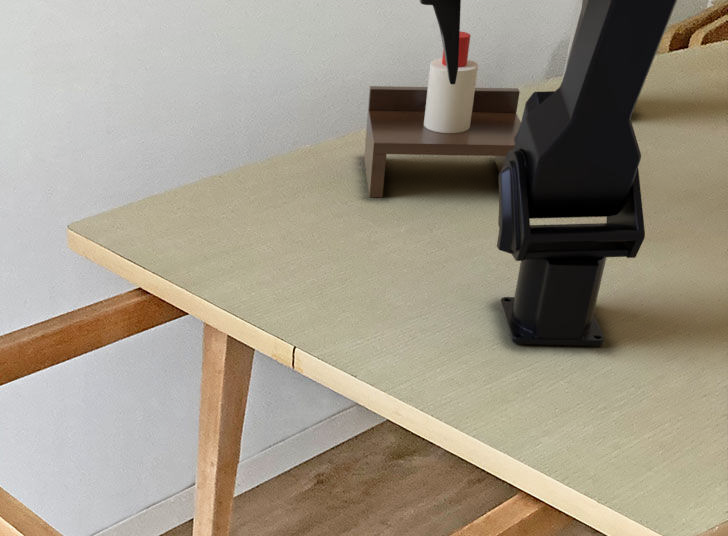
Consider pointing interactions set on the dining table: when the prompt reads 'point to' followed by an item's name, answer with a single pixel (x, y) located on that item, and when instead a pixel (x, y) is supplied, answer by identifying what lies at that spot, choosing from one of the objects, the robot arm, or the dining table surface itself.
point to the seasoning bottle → (451, 93)
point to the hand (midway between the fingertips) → (509, 83)
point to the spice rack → (409, 135)
